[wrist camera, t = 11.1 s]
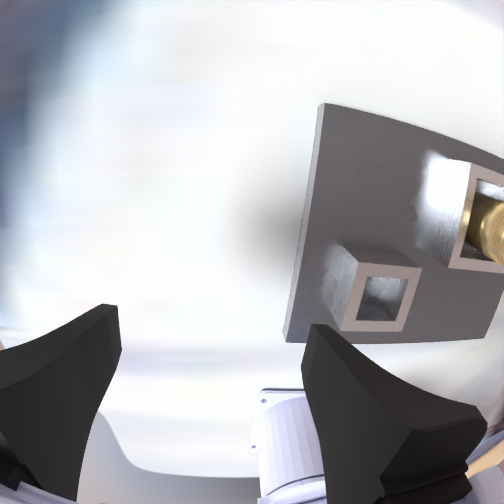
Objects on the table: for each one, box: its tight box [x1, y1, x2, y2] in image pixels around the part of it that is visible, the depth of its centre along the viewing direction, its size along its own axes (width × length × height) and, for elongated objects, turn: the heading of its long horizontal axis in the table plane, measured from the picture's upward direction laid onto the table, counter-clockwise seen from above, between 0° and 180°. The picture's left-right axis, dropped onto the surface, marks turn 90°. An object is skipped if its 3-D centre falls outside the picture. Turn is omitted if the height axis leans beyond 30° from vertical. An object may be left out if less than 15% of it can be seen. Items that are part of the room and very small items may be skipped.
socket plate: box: [283, 103, 504, 344], centre depth 20 cm, size 16×20×4 cm
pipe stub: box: [464, 192, 504, 267], centre depth 17 cm, size 4×4×6 cm
